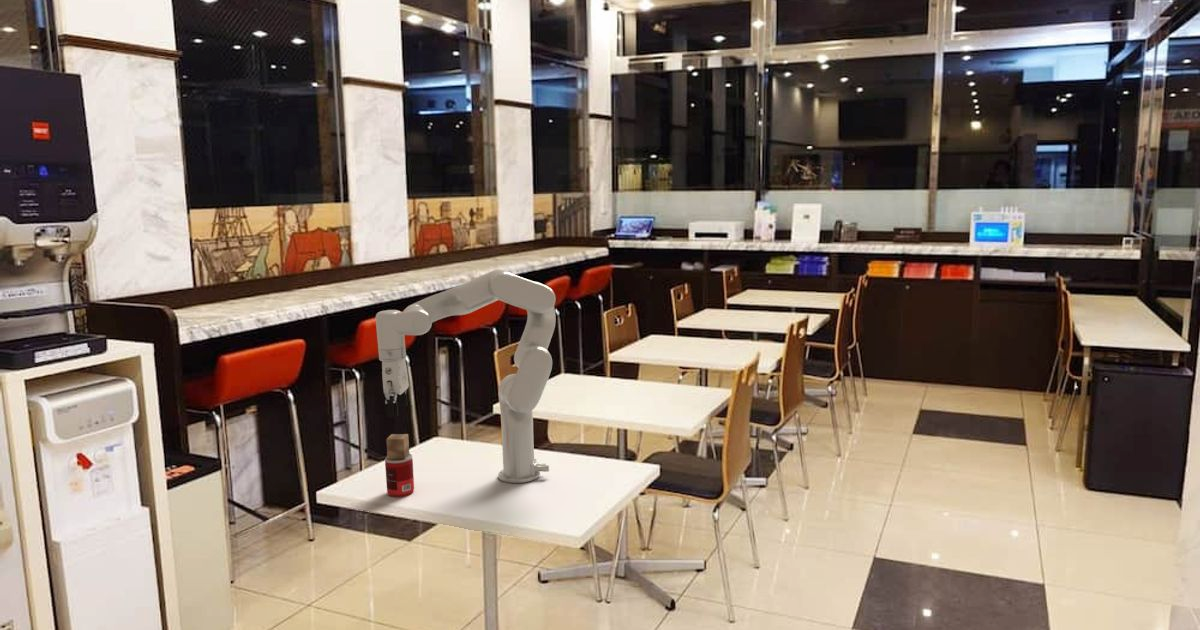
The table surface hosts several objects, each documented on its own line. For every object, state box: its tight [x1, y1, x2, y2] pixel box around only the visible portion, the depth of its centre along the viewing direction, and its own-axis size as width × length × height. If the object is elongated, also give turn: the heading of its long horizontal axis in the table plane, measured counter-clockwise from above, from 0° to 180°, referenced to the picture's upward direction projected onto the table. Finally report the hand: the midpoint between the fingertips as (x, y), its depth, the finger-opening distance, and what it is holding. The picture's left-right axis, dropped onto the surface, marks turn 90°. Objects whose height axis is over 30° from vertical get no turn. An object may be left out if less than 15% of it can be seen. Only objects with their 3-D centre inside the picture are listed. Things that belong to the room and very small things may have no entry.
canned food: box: [384, 453, 415, 498], centre depth 250 cm, size 8×8×11 cm
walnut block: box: [385, 433, 410, 460], centre depth 249 cm, size 5×5×6 cm
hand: (397, 411), depth 247 cm, fingers open, 9 cm apart
